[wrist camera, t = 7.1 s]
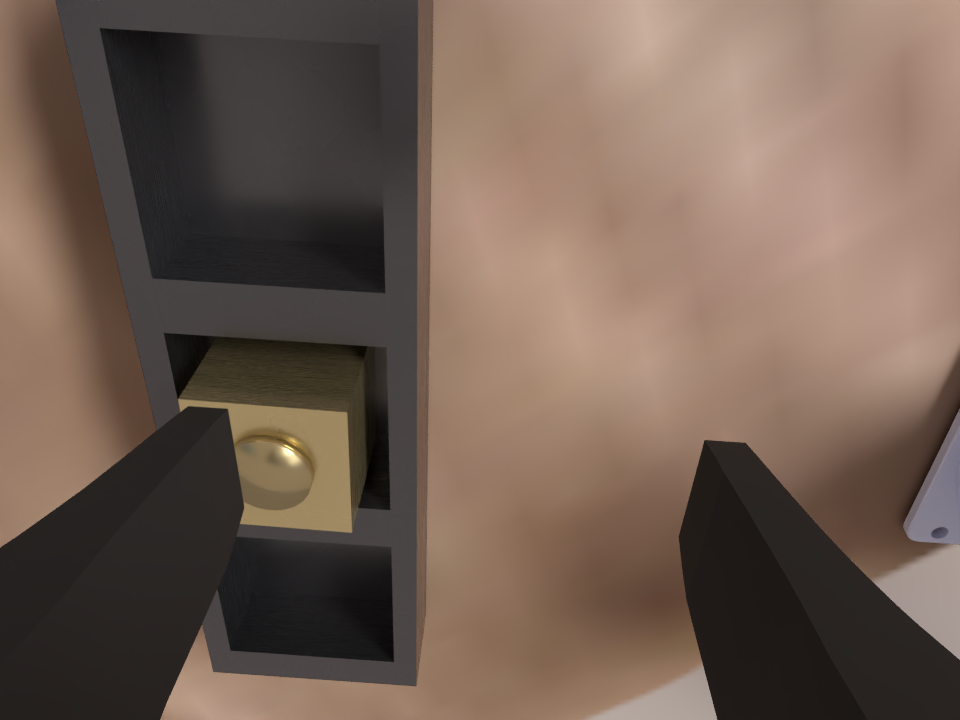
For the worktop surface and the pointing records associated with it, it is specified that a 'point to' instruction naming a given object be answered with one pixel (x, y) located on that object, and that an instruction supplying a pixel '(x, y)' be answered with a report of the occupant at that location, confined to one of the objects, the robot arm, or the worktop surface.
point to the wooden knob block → (294, 426)
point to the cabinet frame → (281, 272)
